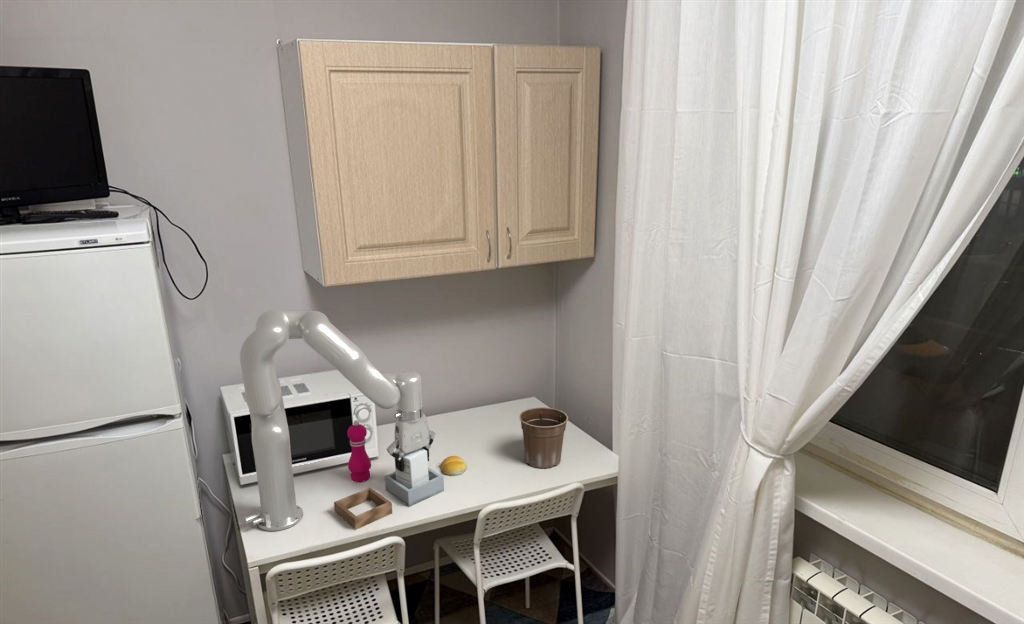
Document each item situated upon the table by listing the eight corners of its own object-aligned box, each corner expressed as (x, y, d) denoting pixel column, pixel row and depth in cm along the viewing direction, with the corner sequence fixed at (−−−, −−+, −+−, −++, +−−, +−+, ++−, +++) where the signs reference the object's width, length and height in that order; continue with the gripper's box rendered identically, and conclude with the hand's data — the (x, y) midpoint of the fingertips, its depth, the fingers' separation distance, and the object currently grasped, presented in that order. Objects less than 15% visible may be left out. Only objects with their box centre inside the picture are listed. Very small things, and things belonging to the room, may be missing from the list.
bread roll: (444, 478, 206) (443, 467, 205) (439, 465, 215) (439, 454, 214) (469, 474, 209) (469, 463, 208) (464, 462, 217) (463, 451, 216)
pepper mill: (376, 475, 208) (372, 418, 203) (361, 485, 202) (356, 427, 197) (360, 470, 212) (355, 414, 207) (344, 479, 206) (339, 422, 201)
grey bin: (409, 506, 190) (408, 491, 189) (385, 490, 199) (384, 475, 198) (444, 490, 198) (443, 476, 197) (419, 475, 208) (419, 461, 206)
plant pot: (565, 449, 225) (566, 406, 221) (569, 472, 209) (569, 426, 205) (519, 449, 225) (519, 406, 221) (519, 472, 209) (519, 426, 205)
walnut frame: (355, 529, 179) (354, 518, 178) (334, 512, 187) (333, 502, 186) (392, 513, 187) (391, 502, 186) (370, 497, 195) (370, 487, 194)
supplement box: (413, 480, 203) (411, 443, 200) (430, 487, 199) (427, 450, 196) (395, 490, 198) (393, 452, 195) (412, 497, 193) (410, 459, 190)
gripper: (392, 425, 184) (395, 479, 188) (440, 408, 195) (442, 459, 200) (378, 417, 189) (381, 470, 193) (426, 401, 201) (428, 451, 205)
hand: (412, 464), depth 197 cm, fingers open, 8 cm apart
